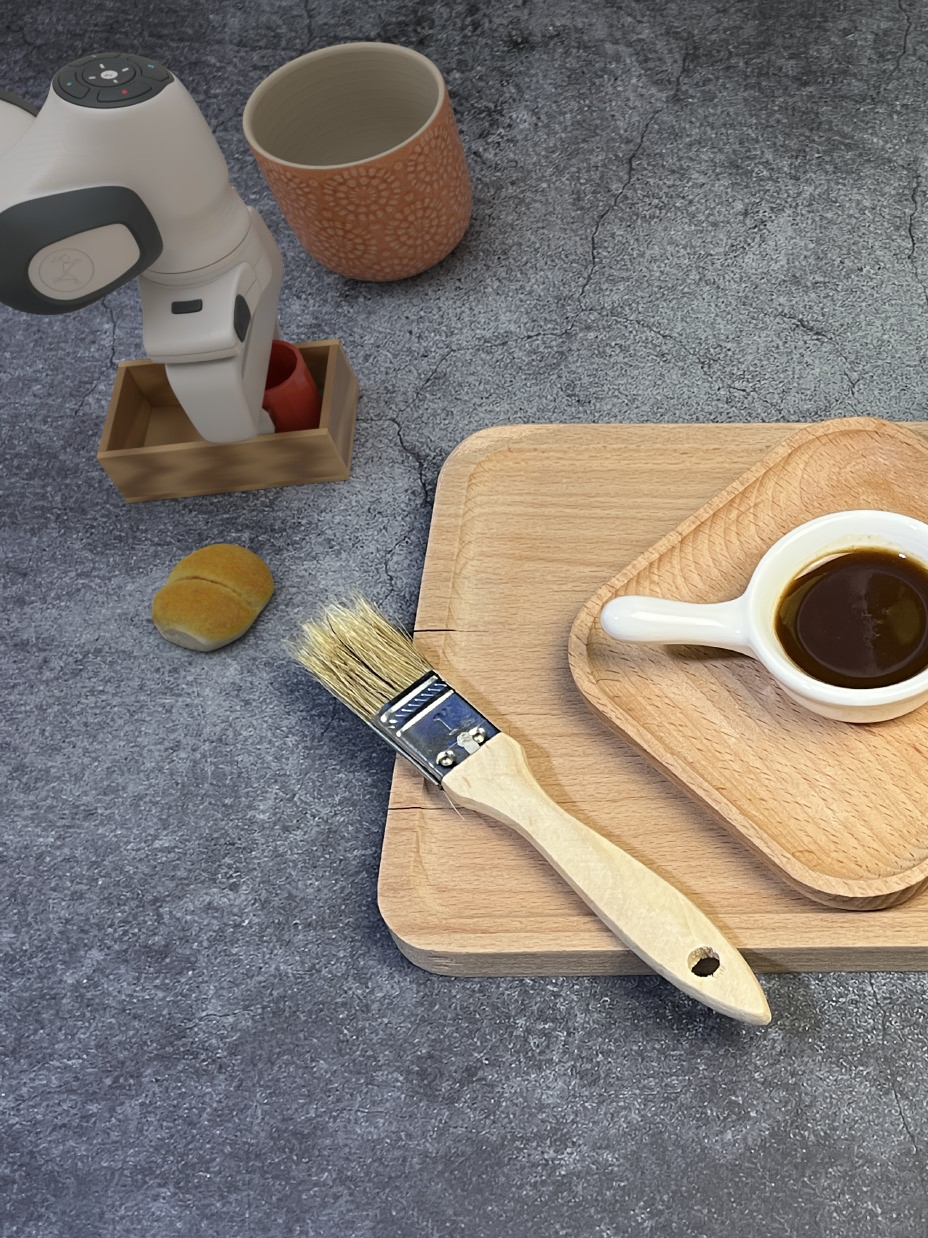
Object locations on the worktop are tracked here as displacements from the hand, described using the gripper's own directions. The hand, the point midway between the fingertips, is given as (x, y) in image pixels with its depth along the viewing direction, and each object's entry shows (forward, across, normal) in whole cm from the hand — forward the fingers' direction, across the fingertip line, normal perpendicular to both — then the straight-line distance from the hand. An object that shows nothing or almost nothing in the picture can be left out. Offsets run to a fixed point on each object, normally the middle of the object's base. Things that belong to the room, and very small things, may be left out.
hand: (271, 394), depth 122 cm
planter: (+5, -23, +7) cm, 25 cm away
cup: (+4, 0, 0) cm, 5 cm away
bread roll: (+6, +17, -4) cm, 18 cm away
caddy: (+5, 0, -4) cm, 7 cm away
